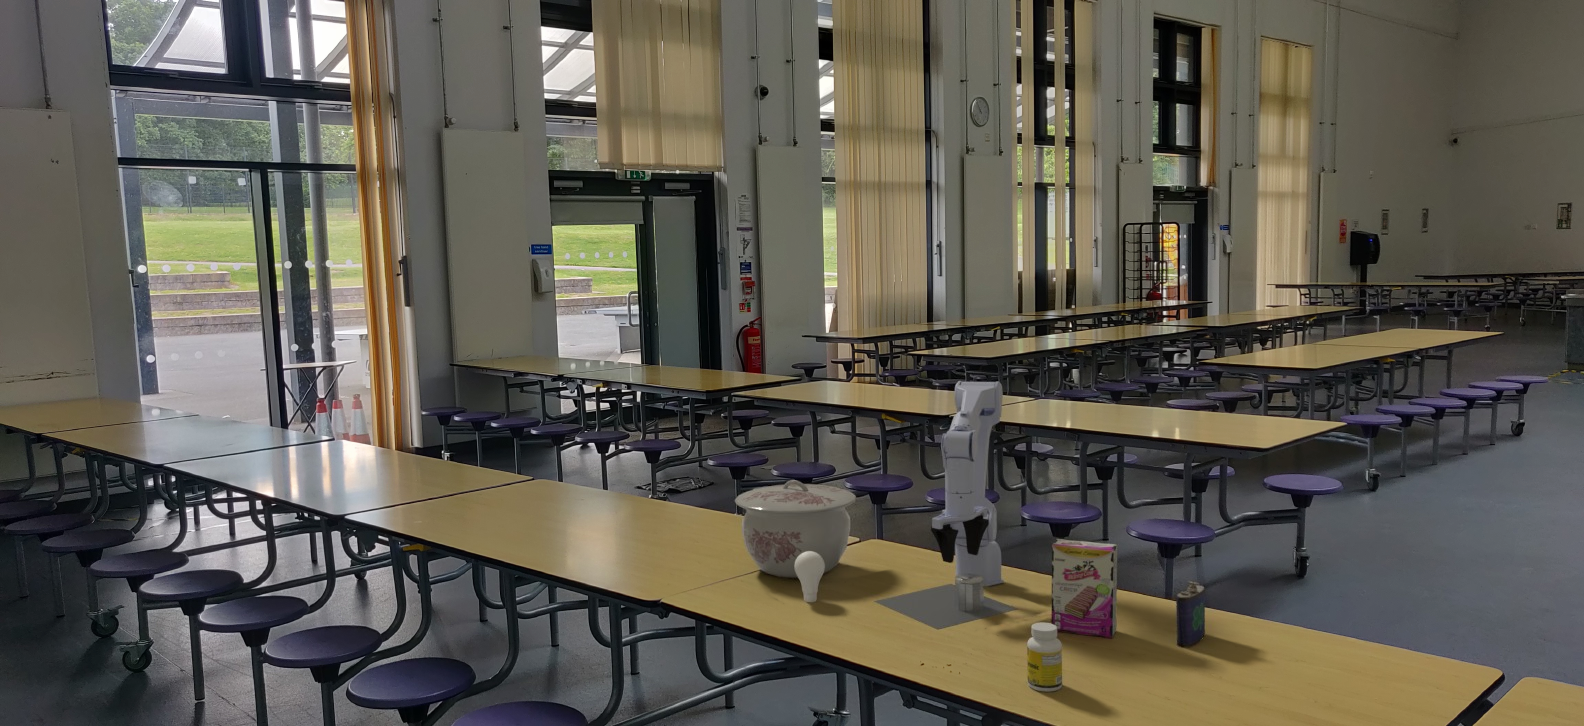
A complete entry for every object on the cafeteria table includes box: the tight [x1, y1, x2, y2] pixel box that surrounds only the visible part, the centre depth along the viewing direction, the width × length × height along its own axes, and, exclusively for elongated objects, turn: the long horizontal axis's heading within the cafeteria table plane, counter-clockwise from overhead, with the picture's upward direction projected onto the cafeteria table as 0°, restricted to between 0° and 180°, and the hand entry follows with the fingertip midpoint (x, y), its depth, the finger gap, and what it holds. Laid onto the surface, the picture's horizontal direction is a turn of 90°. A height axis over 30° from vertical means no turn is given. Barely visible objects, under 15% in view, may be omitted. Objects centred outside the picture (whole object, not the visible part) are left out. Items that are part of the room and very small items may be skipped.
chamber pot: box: [734, 479, 857, 579], centre depth 232 cm, size 28×28×21 cm
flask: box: [1175, 580, 1206, 649], centre depth 182 cm, size 9×3×11 cm, turn 138°
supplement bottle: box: [1026, 622, 1063, 693], centre depth 164 cm, size 5×5×10 cm
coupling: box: [954, 573, 985, 612], centre depth 200 cm, size 5×5×6 cm
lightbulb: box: [794, 551, 825, 603], centre depth 207 cm, size 6×6×11 cm
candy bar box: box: [1050, 538, 1118, 639], centre depth 188 cm, size 11×5×16 cm, turn 65°
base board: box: [873, 583, 1018, 630], centre depth 202 cm, size 20×20×1 cm
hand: (960, 557), depth 205 cm, fingers open, 7 cm apart
